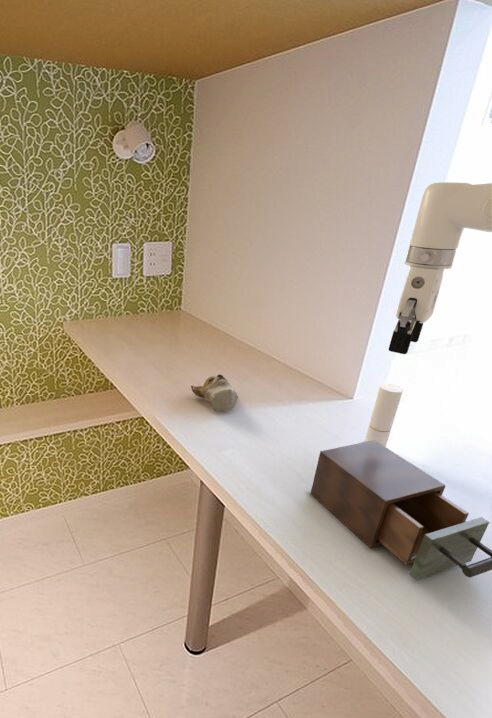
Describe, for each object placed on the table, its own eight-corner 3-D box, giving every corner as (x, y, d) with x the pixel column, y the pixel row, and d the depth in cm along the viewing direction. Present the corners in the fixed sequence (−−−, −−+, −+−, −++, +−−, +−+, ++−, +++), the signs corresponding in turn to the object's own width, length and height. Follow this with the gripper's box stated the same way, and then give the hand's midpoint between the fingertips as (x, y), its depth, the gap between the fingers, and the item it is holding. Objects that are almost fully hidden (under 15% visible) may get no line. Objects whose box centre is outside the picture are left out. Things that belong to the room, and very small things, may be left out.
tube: (382, 456, 95) (402, 394, 88) (361, 450, 97) (378, 388, 90) (385, 447, 98) (403, 386, 91) (364, 441, 100) (381, 382, 93)
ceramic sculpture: (210, 385, 105) (190, 366, 118) (208, 418, 108) (188, 395, 122) (251, 382, 107) (226, 364, 121) (247, 414, 111) (223, 392, 124)
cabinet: (427, 531, 74) (445, 485, 70) (370, 548, 70) (385, 501, 66) (362, 481, 86) (374, 439, 82) (310, 493, 82) (320, 451, 78)
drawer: (504, 586, 63) (526, 545, 59) (447, 608, 59) (466, 566, 56) (398, 506, 78) (410, 470, 75) (347, 519, 75) (358, 483, 71)
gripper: (445, 265, 71) (415, 362, 79) (460, 255, 83) (432, 340, 91) (395, 260, 76) (371, 352, 83) (416, 251, 87) (393, 332, 95)
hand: (403, 346), depth 87 cm, fingers open, 9 cm apart
